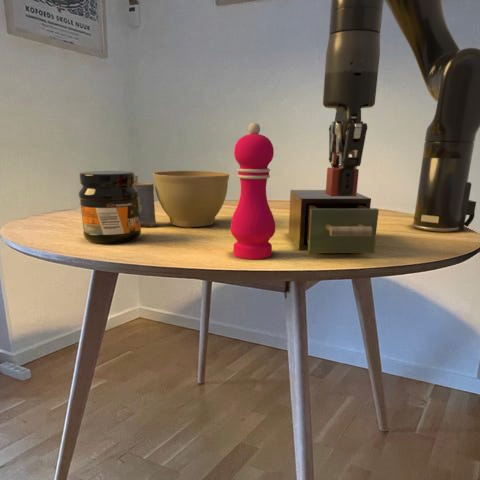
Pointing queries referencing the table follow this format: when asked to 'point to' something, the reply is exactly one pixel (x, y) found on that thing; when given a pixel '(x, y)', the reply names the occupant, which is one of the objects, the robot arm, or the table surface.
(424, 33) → the robot arm
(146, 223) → the flask
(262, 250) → the pepper mill
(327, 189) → the block
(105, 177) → the supplement container
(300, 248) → the cabinet
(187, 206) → the planter bowl
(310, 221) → the drawer
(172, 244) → the table surface
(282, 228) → the table surface
